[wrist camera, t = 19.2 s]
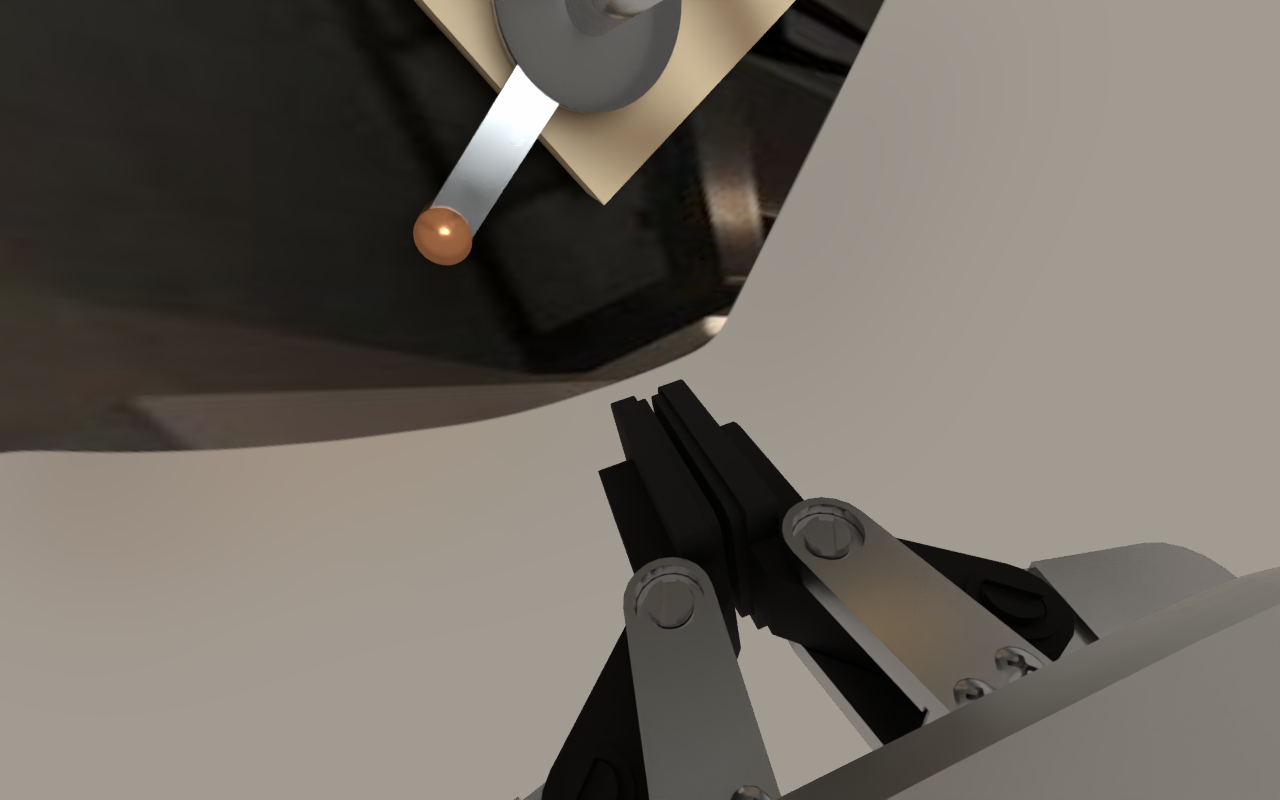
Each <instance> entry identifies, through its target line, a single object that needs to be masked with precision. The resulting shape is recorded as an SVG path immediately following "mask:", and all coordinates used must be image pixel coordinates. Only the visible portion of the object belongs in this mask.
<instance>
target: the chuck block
mask: <svg viewBox="0 0 1280 800" xmlns="http://www.w3.org/2000/svg"><path fill="white" fill-rule="evenodd" d="M414 1H415V2H416V3H417V5H418V6H419V7H420V8H421V9H422V10H423V11H424V12H425V13H426V15H427V16H428V17H429V18H430V19H431V20H432V21H433V22H434V23H435V25H436V26H437V27H438V28H439V29H440V30H441V31H442V32H443V34H444V35H445V36H446V37H447V38H448V39H449V40H450V41H451V42H452V44H453V45H454V46H455V47H456V48H457V49H458V50H459V51H460V52H461V54H462V55H463V56H464V57H465V58H466V59H467V60H468V61H469V62H470V64H471V65H472V66H473V67H474V68H475V69H476V70H477V71H478V72H479V74H480V75H481V76H482V77H483V78H484V79H485V80H486V81H487V83H488V84H489V85H490V86H491V87H492V88H493V89H494V90H495V91H496V93H497V94H499V92H500V90H501V89H502V87H503V85H504V84H505V82H506V81H507V79H508V77H509V76H510V74H511V72H512V71H513V69H514V68H513V67H512V65H511V64H510V62H509V60H508V59H507V57H506V54H505V52H504V50H503V48H502V46H501V43H500V40H499V38H498V35H497V32H496V28H495V24H494V20H493V14H492V7H491V0H414ZM794 1H795V0H682V8H681V20H680V27H679V32H678V36H677V41H676V44H675V47H674V50H673V53H672V55H671V58H670V60H669V62H668V64H667V66H666V68H665V70H664V71H663V73H662V75H661V76H660V78H659V79H658V80H657V82H656V83H655V84H654V85H653V87H652V88H651V89H650V90H649V91H648V92H646V93H645V94H644V95H643V96H642V97H641V98H639V99H638V100H636V101H635V102H633V103H631V104H629V105H628V106H626V107H623V108H620V109H617V110H614V111H608V112H586V113H580V112H573V111H568V110H565V109H562V108H559V107H557V108H556V110H555V111H554V113H553V114H552V116H551V117H550V119H549V120H548V122H547V123H546V125H545V127H544V128H543V130H542V131H541V133H540V134H539V136H538V137H537V138H538V139H539V140H540V142H541V143H542V144H543V145H544V146H545V147H546V148H547V149H548V150H549V152H550V153H551V154H552V155H553V156H554V157H555V158H556V159H557V160H558V162H559V163H560V164H561V165H562V166H563V167H564V168H565V169H566V170H567V172H568V173H569V174H570V175H571V176H572V177H573V178H574V179H575V180H576V182H577V183H578V184H579V185H580V186H581V187H582V188H583V189H584V190H585V192H586V193H587V194H589V195H590V196H592V197H593V198H595V199H596V200H598V201H599V202H601V203H602V204H603V205H605V204H606V203H607V202H608V201H609V200H610V199H611V197H612V196H613V195H614V194H615V193H616V192H617V191H618V190H619V189H620V188H621V187H622V186H623V185H624V184H625V182H626V181H627V180H628V179H629V178H630V177H631V176H632V175H633V174H634V173H635V172H636V171H637V170H638V169H639V167H640V166H641V165H642V164H643V163H644V162H645V161H646V160H647V159H648V158H649V157H650V156H651V155H652V154H653V152H654V151H655V150H656V149H657V148H658V147H659V146H660V145H661V144H662V143H663V142H664V141H665V140H666V139H667V137H668V136H669V135H670V134H671V133H672V132H673V131H674V130H675V129H676V128H677V127H678V126H679V125H680V123H681V122H682V121H683V120H684V119H685V118H686V117H687V116H688V115H689V114H690V113H691V112H692V111H693V110H694V108H695V107H696V106H697V105H698V104H699V103H700V102H701V101H702V100H703V99H704V98H705V97H706V96H707V95H708V93H709V92H710V91H711V90H712V89H713V88H714V87H715V86H716V85H717V84H718V83H719V82H720V81H721V80H722V78H723V77H724V76H725V75H726V74H727V73H728V72H729V71H730V70H731V69H732V68H733V67H734V66H735V65H736V63H737V62H738V61H739V60H740V59H741V58H742V57H743V56H744V55H745V54H746V53H747V52H748V51H749V50H750V48H751V47H752V46H753V45H754V44H755V43H756V42H757V41H758V40H759V39H760V38H761V37H762V36H763V35H764V33H765V32H766V31H767V30H768V29H769V28H770V27H771V26H772V25H773V24H774V23H775V22H776V21H777V20H778V18H779V17H780V16H781V15H782V14H783V13H784V12H785V11H786V10H787V9H788V8H789V7H790V6H791V5H792V3H793V2H794Z"/></svg>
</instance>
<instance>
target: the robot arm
mask: <svg viewBox="0 0 1280 800" xmlns="http://www.w3.org/2000/svg"><path fill="white" fill-rule="evenodd" d="M652 404H653V408H654V412H653V410H652V409H651V407H650V405H649V404H648V402H647V401H646V399H642V400H640V401H637V400H636V398H635V397H634V396H631V397H629V398H626V399H623V400H620V401H617V402H614V403H611V408H612V412H613V415H614V419H615V423H616V426H617V429H618V433H619V436H620V440H621V443H622V447H623V450H624V453H625V457H626V460H627V461H624V462H621V463H619V464H616V465H613V466H611V467H608V468H605V469H602V470H600V471H598V472H599V475H600V478H601V481H602V484H603V487H604V490H605V493H606V496H607V499H608V501H609V504H610V507H611V510H612V513H613V516H614V519H615V522H616V524H617V527H618V530H619V533H620V536H621V538H622V541H623V544H624V547H625V549H626V553H627V555H628V558H629V561H630V564H631V567H632V569H633V572H634V576H633V577H632V578H631V580H630V581H629V583H628V585H627V588H626V591H625V593H624V606H623V609H624V616H625V623H626V626H625V628H624V630H623V632H622V634H621V636H620V638H619V639H618V641H617V643H616V645H615V647H614V649H613V651H612V653H611V655H610V657H609V659H608V661H607V662H606V664H605V666H604V668H603V670H602V672H601V674H600V676H599V678H598V680H597V682H596V684H595V686H594V687H593V690H592V691H591V693H590V695H589V697H588V699H587V701H586V703H585V705H584V707H583V709H582V711H581V713H580V714H579V716H578V718H577V720H576V722H575V724H574V726H573V728H572V730H571V732H570V734H569V735H568V737H567V739H566V741H565V743H564V745H563V747H562V749H561V751H560V753H559V755H558V757H557V759H556V760H555V762H554V764H553V766H552V768H551V770H550V773H549V775H548V778H547V780H546V782H545V783H544V784H543V785H542V786H540V787H539V788H538V789H536V790H535V791H534V792H533V793H531V794H530V795H529V796H527V797H526V798H525V799H524V800H1280V567H1277V568H1272V569H1268V570H1264V571H1261V572H1257V573H1253V574H1250V575H1245V576H1242V577H1239V578H1237V577H1235V576H1234V575H1233V574H1232V573H1230V572H1229V571H1228V570H1226V569H1225V568H1223V567H1222V566H1220V565H1219V564H1217V563H1216V562H1214V561H1212V560H1211V559H1209V558H1207V557H1206V556H1204V555H1201V554H1199V553H1196V552H1194V551H1192V550H1189V549H1187V548H1184V547H1180V546H1175V545H1171V544H1166V543H1141V544H1135V545H1129V546H1124V547H1117V548H1112V549H1106V550H1100V551H1094V552H1088V553H1082V554H1076V555H1071V556H1064V557H1058V558H1053V559H1046V560H1041V561H1035V562H1032V563H1031V565H1030V567H1029V568H1027V569H1021V568H1018V567H1015V566H1012V565H1009V564H1006V563H1001V562H997V561H993V560H988V559H984V558H980V557H975V556H971V555H967V554H963V553H958V552H954V551H949V550H946V549H941V548H937V547H932V546H928V545H924V544H920V543H916V542H911V541H907V540H903V539H898V538H895V537H894V536H892V535H891V534H890V533H889V532H887V531H886V530H885V529H884V528H882V527H881V526H880V525H878V524H877V523H876V522H874V521H873V520H872V519H871V518H870V517H868V516H867V515H866V514H865V513H863V512H862V511H861V510H859V509H857V508H856V507H854V506H852V505H851V504H849V503H846V502H843V501H840V500H837V499H833V498H823V497H820V498H813V499H807V500H805V501H804V500H803V499H802V498H801V496H800V495H799V494H798V493H797V492H796V490H795V489H794V488H793V487H792V486H791V485H790V483H789V482H788V481H787V480H786V479H785V478H784V477H783V475H782V474H781V473H780V472H779V471H778V470H777V469H776V467H775V466H774V465H773V464H772V463H771V461H770V460H769V459H768V458H767V457H766V456H765V455H764V453H763V452H762V451H761V450H760V449H759V448H758V446H757V445H756V444H755V443H754V442H753V441H752V439H751V438H750V437H749V436H748V435H747V434H746V433H745V431H744V430H743V429H742V428H741V427H740V426H739V425H738V424H737V423H735V422H731V423H728V424H725V425H723V426H719V425H718V423H717V422H716V421H715V420H714V419H713V417H712V416H711V415H710V413H709V412H708V411H707V410H706V408H705V407H704V406H703V405H702V403H701V402H700V401H699V400H698V398H697V397H696V396H695V395H694V393H693V392H692V391H691V390H690V388H689V387H688V386H687V385H686V383H685V382H684V381H683V380H678V381H675V382H672V383H669V384H666V385H663V386H660V387H659V388H658V394H657V395H654V396H652ZM654 413H655V414H654ZM735 608H736V610H737V611H738V613H739V615H740V616H741V617H742V618H743V617H745V616H747V615H750V616H751V618H752V620H753V621H754V623H755V625H756V627H757V629H761V628H763V627H765V626H768V627H769V629H770V631H771V633H772V634H773V635H776V636H779V637H781V638H784V639H787V640H788V642H789V643H790V645H791V647H792V648H793V649H794V651H795V653H796V654H797V656H798V657H799V658H800V659H801V661H802V662H803V663H804V664H805V666H806V667H807V668H808V669H809V671H810V672H811V673H812V674H813V676H814V677H815V678H816V679H817V681H818V682H819V683H820V684H821V686H822V687H823V688H824V689H825V690H826V692H827V693H828V694H829V696H830V697H831V698H832V700H833V701H834V702H835V703H836V705H837V706H838V707H839V708H840V710H841V711H842V712H843V713H844V714H845V716H846V717H847V718H848V720H849V721H850V722H851V723H852V725H853V726H854V727H855V728H856V730H857V731H858V732H859V733H860V735H861V736H862V737H863V739H864V740H865V741H866V742H867V744H868V745H869V746H870V747H871V749H872V750H873V751H872V752H870V753H868V754H866V755H864V756H862V757H860V758H858V759H856V760H854V761H852V762H850V763H848V764H846V765H844V766H842V767H840V768H838V769H836V770H834V771H832V772H830V773H828V774H826V775H824V776H823V777H820V778H818V779H816V780H814V781H812V782H810V783H808V784H806V785H804V786H802V787H800V788H799V789H796V790H795V791H792V792H790V793H788V794H786V795H784V796H782V797H781V795H780V792H779V789H778V786H777V783H776V780H775V776H774V773H773V770H772V767H771V764H770V761H769V758H768V755H767V752H766V749H765V746H764V742H763V740H762V737H761V733H760V730H759V727H758V724H757V721H756V718H755V715H754V712H753V708H752V706H751V702H750V699H749V696H748V693H747V690H746V687H745V684H744V681H743V678H742V674H741V672H740V668H739V665H738V662H737V658H738V655H739V652H740V649H741V646H740V639H739V633H738V626H737V619H736V612H735ZM514 800H521V799H520V798H519V797H517V798H516V799H514Z"/></svg>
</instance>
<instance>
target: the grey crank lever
mask: <svg viewBox="0 0 1280 800" xmlns="http://www.w3.org/2000/svg"><path fill="white" fill-rule="evenodd" d="M491 7H492V14H493V20H494V24H495V28H496V32H497V35H498V38H499V40H500V43H501V46H502V48H503V50H504V52H505V54H506V57H507V59H508V60H509V62H510V64H511V65H512V67H513V68H514V69H513V71H512V72H511V74H510V76H509V77H508V79H507V81H506V82H505V84H504V85H503V87H502V89H501V90H500V92H499V94H498V95H497V97H496V99H495V100H494V102H493V103H492V105H491V107H490V108H489V110H488V112H487V113H486V115H485V117H484V118H483V120H482V122H481V123H480V125H479V126H478V128H477V130H476V131H475V133H474V135H473V136H472V138H471V140H470V141H469V143H468V144H467V146H466V148H465V149H464V151H463V153H462V154H461V156H460V158H459V159H458V161H457V162H456V164H455V166H454V167H453V169H452V171H451V172H450V174H449V176H448V177H447V179H446V180H445V182H444V184H443V185H442V187H441V189H440V190H439V192H438V194H437V195H436V197H435V199H434V200H433V201H431V202H429V203H428V204H427V205H426V206H425V207H424V208H423V209H422V211H421V213H420V215H419V217H418V219H417V221H416V223H415V226H414V230H413V235H414V241H415V244H416V246H417V248H418V249H419V251H420V252H421V253H422V254H423V255H424V256H425V257H426V258H427V259H429V260H430V261H432V262H434V263H437V264H441V265H453V264H456V263H459V262H461V261H462V260H463V259H465V258H466V257H467V255H468V254H469V252H470V250H471V246H472V238H473V236H474V235H475V233H476V231H477V230H478V228H479V227H480V225H481V224H482V222H483V221H484V219H485V218H486V216H487V215H488V213H489V211H490V210H491V208H492V207H493V205H494V204H495V202H496V201H497V199H498V198H499V196H500V194H501V193H502V191H503V190H504V188H505V187H506V185H507V184H508V182H509V181H510V179H511V177H512V176H513V174H514V173H515V171H516V170H517V168H518V167H519V165H520V164H521V162H522V160H523V159H524V157H525V156H526V154H527V153H528V151H529V150H530V148H531V147H532V145H533V143H534V142H535V140H536V139H537V137H538V136H539V134H540V133H541V131H542V130H543V128H544V127H545V125H546V123H547V122H548V120H549V119H550V117H551V116H552V114H553V113H554V111H555V110H556V108H557V107H559V108H562V109H565V110H568V111H573V112H580V113H586V112H608V111H614V110H617V109H620V108H623V107H626V106H628V105H629V104H631V103H633V102H635V101H636V100H638V99H639V98H641V97H642V96H643V95H644V94H645V93H646V92H648V91H649V90H650V89H651V88H652V87H653V85H654V84H655V83H656V82H657V80H658V79H659V78H660V76H661V75H662V73H663V71H664V70H665V68H666V66H667V64H668V62H669V60H670V58H671V55H672V53H673V50H674V47H675V44H676V41H677V36H678V32H679V27H680V20H681V8H682V0H491Z"/></svg>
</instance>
